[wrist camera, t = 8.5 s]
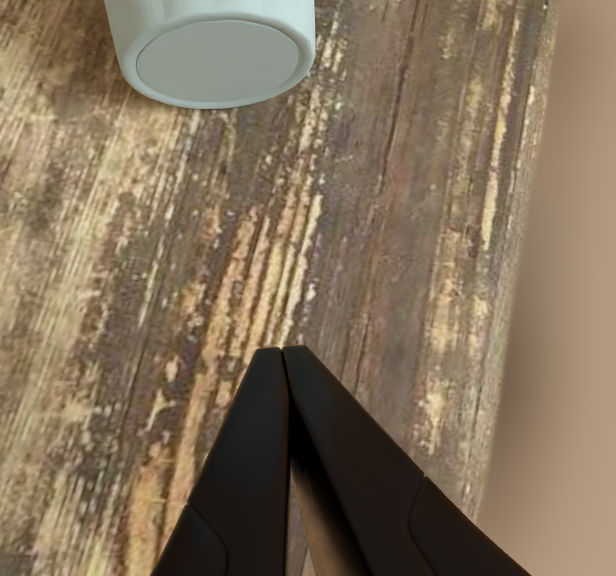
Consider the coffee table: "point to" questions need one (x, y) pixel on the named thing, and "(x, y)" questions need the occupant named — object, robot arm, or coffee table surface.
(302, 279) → the coffee table surface
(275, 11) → the cup
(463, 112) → the coffee table surface
